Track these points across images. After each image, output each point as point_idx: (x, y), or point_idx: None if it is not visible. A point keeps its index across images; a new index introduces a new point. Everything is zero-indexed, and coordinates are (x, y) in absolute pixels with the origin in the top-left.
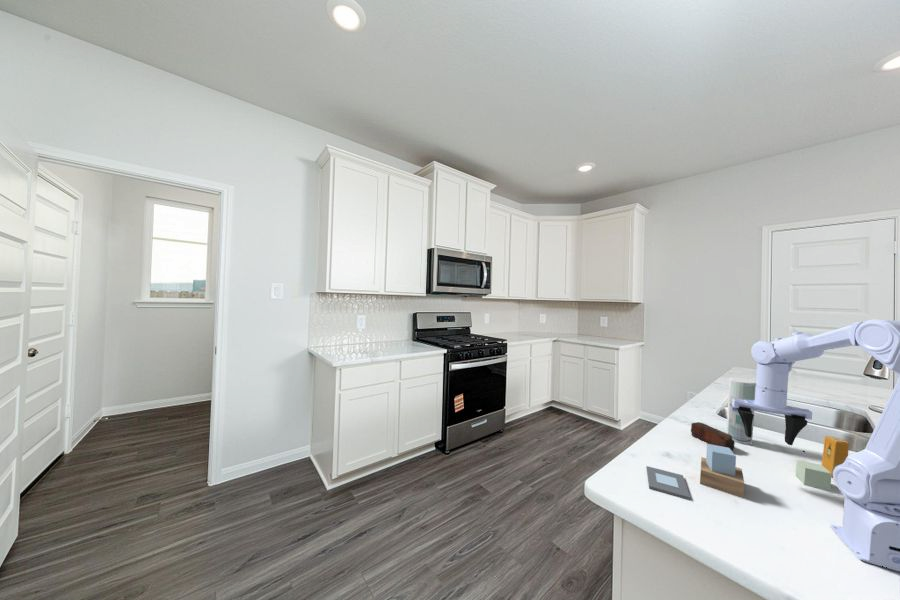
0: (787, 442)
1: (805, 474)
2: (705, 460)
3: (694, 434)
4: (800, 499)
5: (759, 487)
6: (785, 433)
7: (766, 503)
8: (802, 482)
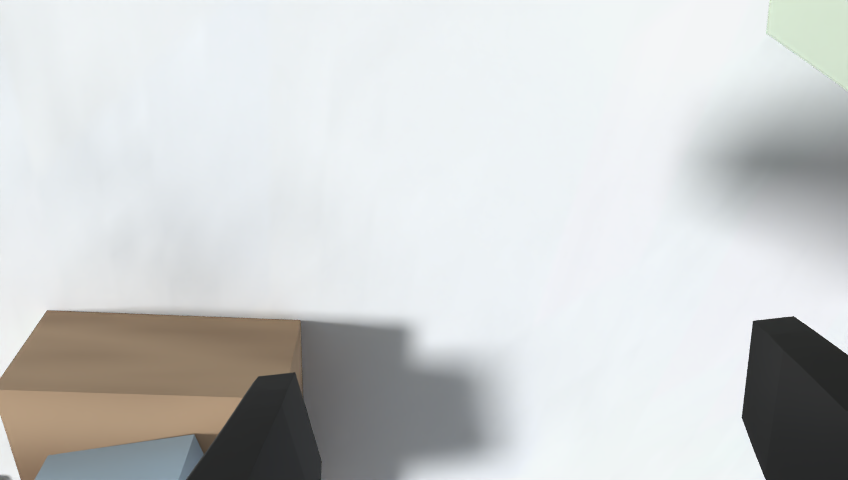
0: (753, 403)
1: (820, 64)
2: (35, 427)
3: None
4: (622, 312)
5: (407, 312)
6: (824, 404)
7: (412, 470)
8: (771, 5)
